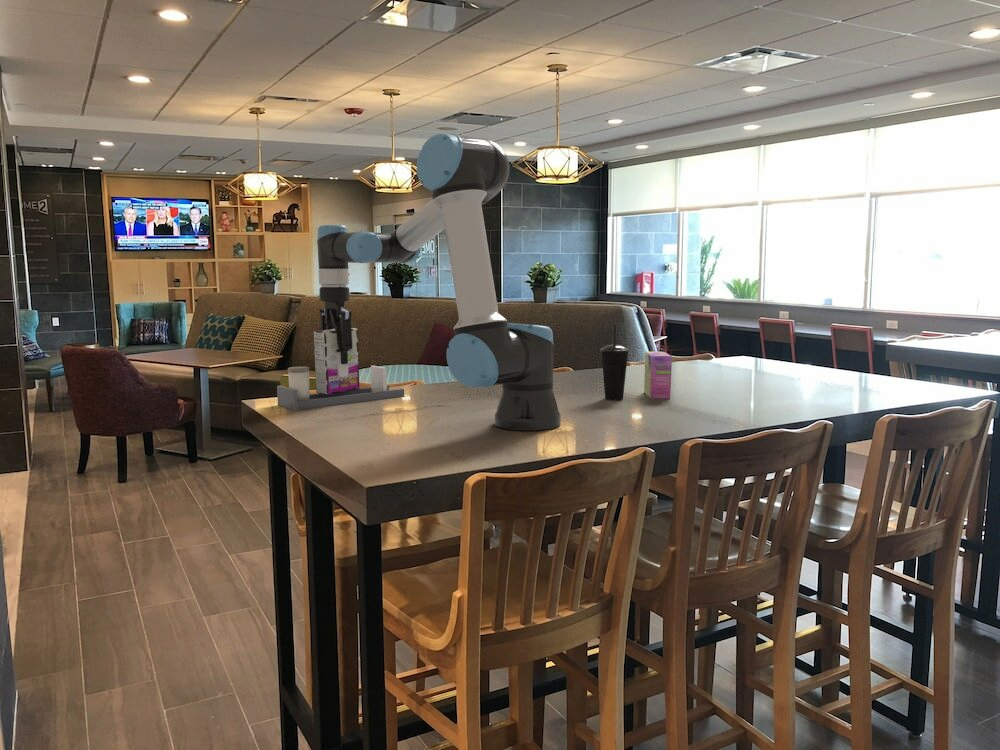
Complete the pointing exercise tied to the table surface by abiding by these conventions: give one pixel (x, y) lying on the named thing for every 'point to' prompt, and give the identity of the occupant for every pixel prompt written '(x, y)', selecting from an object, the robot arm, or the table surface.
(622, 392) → the drinking cup
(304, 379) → the jar
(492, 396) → the table surface
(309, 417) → the table surface
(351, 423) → the table surface
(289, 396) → the lane
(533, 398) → the robot arm
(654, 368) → the box
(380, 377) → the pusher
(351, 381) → the candy bar box
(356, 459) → the table surface
